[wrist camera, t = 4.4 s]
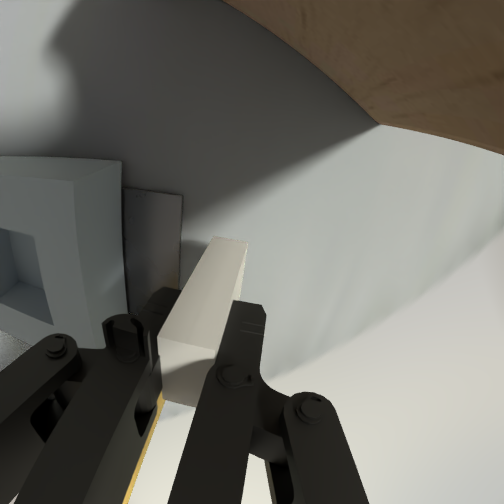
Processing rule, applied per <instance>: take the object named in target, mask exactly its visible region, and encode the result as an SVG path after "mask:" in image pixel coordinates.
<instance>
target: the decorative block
mask: <svg viewBox="0 0 504 504" xmlns="http://www.w3.org/2000/svg"><path fill="white" fill-rule="evenodd" d="M222 1H224V2H226V3H227V4H229V5H231V6H232V7H234V8H235V9H237V10H239V11H240V12H242V13H244V14H245V15H247V16H248V17H250V18H251V19H253V20H254V21H256V22H257V23H259V24H260V25H262V26H263V27H265V28H266V29H268V30H269V31H270V32H272V33H273V34H275V35H276V36H277V37H279V38H280V39H282V40H283V41H284V42H286V43H287V44H288V45H290V46H291V47H292V48H294V49H295V50H296V51H298V52H299V53H300V54H301V55H303V56H304V57H305V58H306V59H308V60H309V61H310V62H311V63H313V64H314V65H315V66H316V67H317V68H319V69H320V70H321V71H322V72H323V73H325V74H326V75H327V76H328V77H329V78H330V79H331V80H333V81H334V82H335V83H336V84H337V85H338V86H339V87H340V88H342V89H343V90H344V91H345V92H346V93H347V94H348V95H349V96H350V97H351V98H352V99H353V100H354V101H356V102H357V103H358V104H359V105H360V106H361V107H362V108H363V109H364V110H365V111H366V112H367V113H368V114H369V115H370V116H371V117H372V118H373V119H374V120H375V121H376V122H378V123H379V124H382V125H387V126H393V127H398V128H403V129H408V130H413V131H418V132H422V133H427V134H431V135H435V136H439V137H444V138H448V139H451V140H455V141H459V142H463V143H466V144H470V145H473V146H476V147H480V148H483V149H486V150H489V151H493V152H496V153H499V154H502V155H504V0H222Z"/></svg>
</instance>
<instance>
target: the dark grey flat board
mask: <svg viewBox="0 0 504 504" xmlns="http://www.w3.org/2000/svg"><path fill="white" fill-rule="evenodd" d="M182 207H183V195H176V194H169V193H162V192H155V191H147V190H139V189H131V188H123V187H121V223H122V249H123V266H124V279H125V291H126V301H127V310H128V312H130V313H134V314H138V315H139V313H140V312H141V311H142V309H143V307H144V306H145V305H146V304H147V302H148V300H149V299H150V297H151V296H152V294H153V293H154V292H156V291H157V290H159V289H161V288H162V287H168V288H173V289H178V290H179V268H180V242H181V223H182Z"/></svg>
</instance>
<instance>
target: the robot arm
mask: <svg viewBox="0 0 504 504" xmlns="http://www.w3.org/2000/svg"><path fill="white" fill-rule="evenodd" d="M247 247H248V242H244V241H239V240H233V239H228V238H222V237H216V236H213V238H212V240H211V241H210V243H209V245H208V247H207V248H206V250H205V252H204V253H203V255H202V257H201V259H200V260H199V262H198V264H197V266H196V267H195V269H194V271H193V273H192V274H191V276H190V278H189V280H188V282H187V283H186V285H185V287H184V289H183V290H178V289H173V288H168V287H162V288H161V289H159V290H157V291H156V292H154V293H153V294H152V296H151V297H150V299H149V300H148V302H147V304H146V305H145V306H144V307H143V309H142V311H141V312H140V313H139V315H138V316H136V315H132V314H117V315H114V316H111V317H109V318H107V319H106V320H105V321H103V322H102V323H101V324H102V329H103V334H104V339H105V344H106V347H105V348H104V349H90V348H78V346H77V343H76V341H75V340H74V339H73V337H71V336H69V335H67V334H62V333H56V334H51V335H48V336H46V337H45V338H43V339H41V340H40V341H39V342H38V343H36V344H35V345H34V346H32V347H31V348H30V349H29V350H27V351H26V352H25V353H23V354H22V355H21V356H20V357H18V358H17V359H16V360H15V361H13V362H12V363H11V364H10V365H8V366H7V367H6V368H5V369H3V370H2V371H1V372H0V504H9V503H10V502H11V501H12V500H13V498H14V497H15V496H16V495H17V494H18V493H19V494H18V496H17V498H16V500H15V502H14V504H123V501H124V498H125V495H126V493H127V490H128V487H129V485H130V482H131V479H132V477H133V474H134V471H135V469H136V466H137V463H138V461H139V458H140V456H141V453H142V450H143V448H144V445H145V443H146V440H147V437H148V435H149V432H150V430H151V427H152V425H153V422H154V420H155V417H156V415H157V409H158V405H157V400H158V397H159V395H160V393H161V390H162V398H163V399H164V400H168V401H172V402H176V403H179V404H183V405H187V406H192V407H196V411H195V414H194V417H193V421H192V424H191V427H190V430H189V434H188V437H187V441H186V444H185V447H184V450H183V453H182V457H181V460H180V463H179V466H178V470H177V474H176V477H175V480H174V483H173V486H172V490H171V493H170V496H169V500H168V503H167V504H241V500H242V494H243V487H244V482H245V475H246V469H247V463H248V456H249V453H250V454H253V455H255V456H257V457H259V458H262V459H264V460H265V466H266V472H267V478H268V483H269V489H270V494H271V499H272V504H369V502H368V499H367V496H366V493H365V491H364V487H363V485H362V482H361V479H360V476H359V473H358V470H357V468H356V465H355V462H354V459H353V456H352V454H351V451H350V448H349V445H348V443H347V440H346V437H345V435H344V432H343V429H342V426H341V424H340V421H339V418H338V416H337V413H336V410H335V408H334V407H333V405H332V403H331V402H330V401H329V400H327V399H326V398H325V397H324V396H321V395H319V394H316V393H313V392H301V393H296V394H294V395H293V396H291V397H289V396H286V395H284V394H282V393H279V392H277V391H275V390H273V389H272V388H270V387H269V386H268V385H267V384H266V383H265V382H264V380H263V379H262V377H261V374H260V361H261V353H262V345H263V338H264V330H265V322H266V313H265V311H264V309H263V307H262V305H259V304H253V303H248V302H243V301H239V298H240V293H241V286H242V280H243V273H244V267H245V260H246V253H247Z"/></svg>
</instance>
